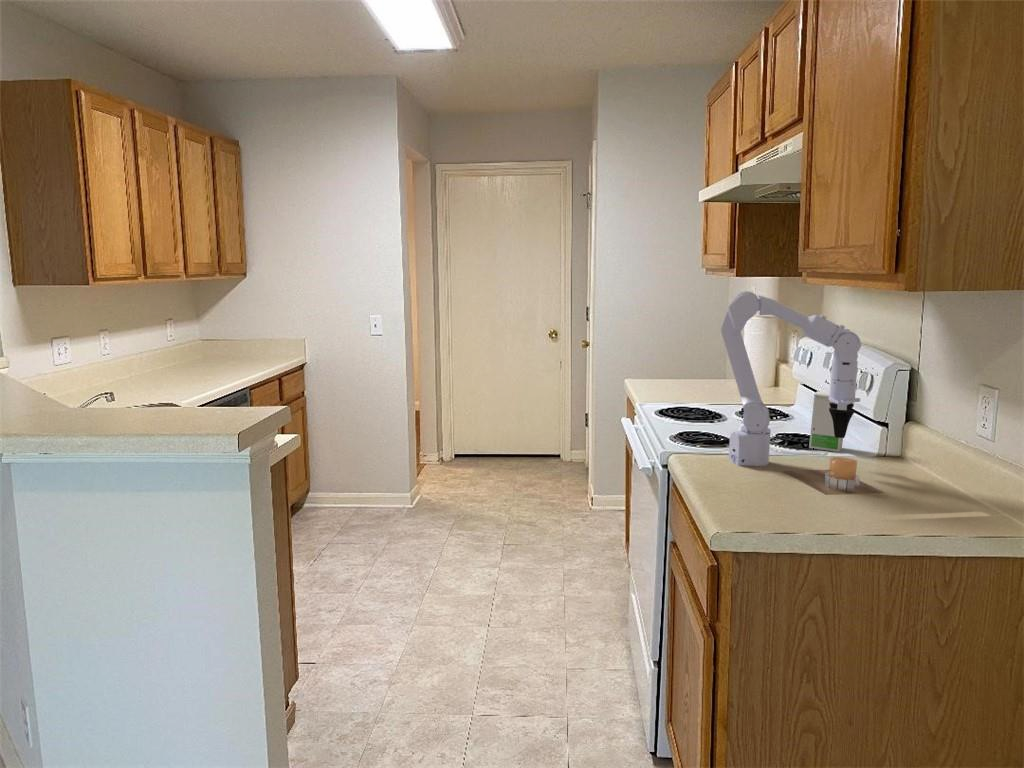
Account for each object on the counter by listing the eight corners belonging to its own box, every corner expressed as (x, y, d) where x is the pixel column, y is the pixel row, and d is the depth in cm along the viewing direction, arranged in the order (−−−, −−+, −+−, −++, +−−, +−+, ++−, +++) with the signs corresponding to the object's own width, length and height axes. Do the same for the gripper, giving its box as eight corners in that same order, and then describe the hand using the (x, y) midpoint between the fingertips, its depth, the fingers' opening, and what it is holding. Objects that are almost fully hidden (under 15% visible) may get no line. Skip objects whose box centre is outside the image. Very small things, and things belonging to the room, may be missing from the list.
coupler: (855, 490, 171) (857, 464, 170) (828, 487, 173) (830, 461, 172) (854, 484, 176) (856, 458, 175) (828, 481, 178) (830, 456, 177)
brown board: (825, 497, 168) (825, 494, 168) (781, 474, 188) (781, 470, 188) (884, 495, 170) (884, 492, 170) (835, 472, 190) (835, 469, 190)
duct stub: (835, 491, 170) (836, 480, 170) (818, 482, 177) (819, 472, 177) (865, 490, 171) (866, 479, 171) (847, 481, 178) (848, 471, 178)
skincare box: (808, 448, 215) (812, 393, 213) (812, 444, 221) (815, 390, 218) (840, 452, 211) (844, 396, 209) (843, 447, 217) (847, 393, 214)
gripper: (862, 384, 179) (858, 441, 181) (860, 377, 192) (856, 430, 194) (829, 382, 181) (825, 439, 183) (830, 375, 195) (826, 427, 197)
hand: (839, 434), depth 189 cm, fingers open, 7 cm apart
